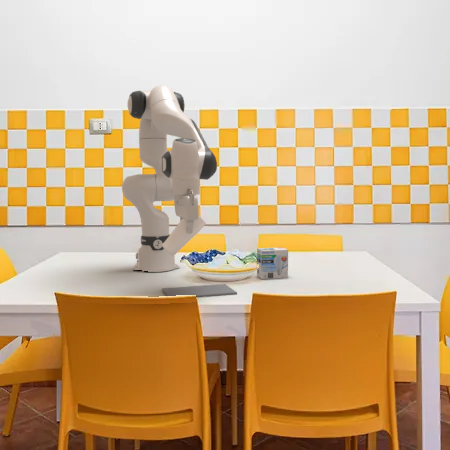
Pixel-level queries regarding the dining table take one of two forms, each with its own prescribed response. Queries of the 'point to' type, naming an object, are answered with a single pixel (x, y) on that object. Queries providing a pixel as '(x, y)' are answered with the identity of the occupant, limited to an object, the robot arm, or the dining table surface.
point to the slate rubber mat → (200, 290)
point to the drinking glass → (181, 235)
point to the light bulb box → (272, 263)
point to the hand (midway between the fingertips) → (186, 232)
